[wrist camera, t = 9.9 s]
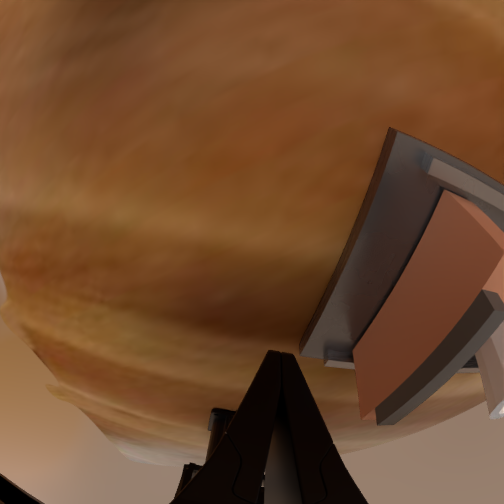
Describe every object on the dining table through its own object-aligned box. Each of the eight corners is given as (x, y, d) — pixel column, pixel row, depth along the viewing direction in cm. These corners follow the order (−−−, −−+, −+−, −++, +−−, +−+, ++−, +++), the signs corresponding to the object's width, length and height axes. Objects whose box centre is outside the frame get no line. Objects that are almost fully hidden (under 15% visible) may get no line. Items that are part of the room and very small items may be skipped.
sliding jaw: (378, 353, 16) (393, 434, 12) (352, 350, 16) (362, 436, 12) (473, 202, 10) (545, 281, 5) (444, 189, 10) (520, 272, 5)
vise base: (494, 359, 19) (512, 408, 14) (299, 343, 18) (298, 427, 13) (577, 242, 11) (614, 288, 6) (389, 126, 10) (465, 175, 5)
